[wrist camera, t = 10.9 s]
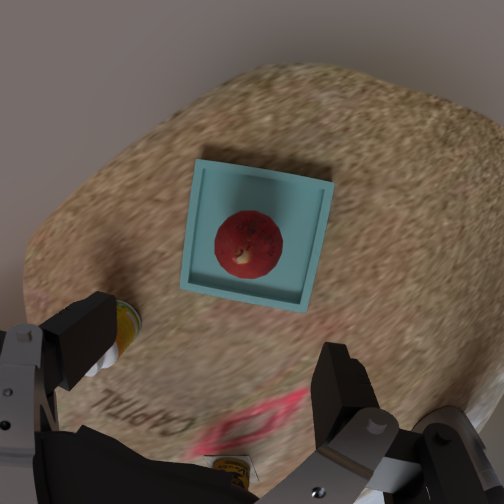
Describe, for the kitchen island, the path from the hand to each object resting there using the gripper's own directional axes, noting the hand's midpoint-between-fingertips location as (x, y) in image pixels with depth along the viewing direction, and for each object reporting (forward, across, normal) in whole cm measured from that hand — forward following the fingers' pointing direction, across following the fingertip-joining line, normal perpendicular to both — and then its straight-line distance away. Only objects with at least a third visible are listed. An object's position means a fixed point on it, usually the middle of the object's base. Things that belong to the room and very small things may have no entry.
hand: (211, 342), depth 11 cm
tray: (+20, 0, 0) cm, 20 cm away
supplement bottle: (+20, +14, +13) cm, 28 cm away
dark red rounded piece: (+20, 0, 0) cm, 20 cm away
